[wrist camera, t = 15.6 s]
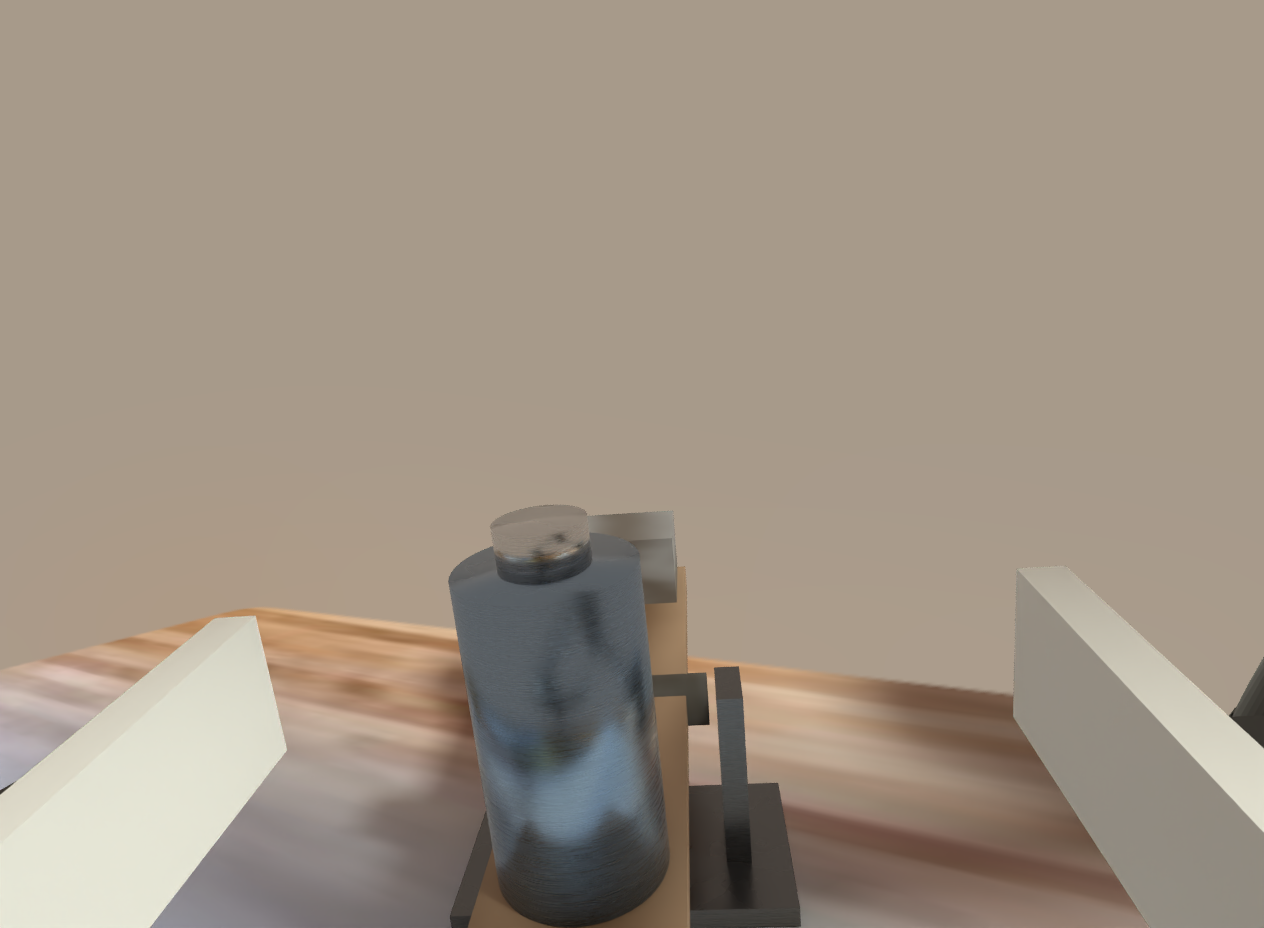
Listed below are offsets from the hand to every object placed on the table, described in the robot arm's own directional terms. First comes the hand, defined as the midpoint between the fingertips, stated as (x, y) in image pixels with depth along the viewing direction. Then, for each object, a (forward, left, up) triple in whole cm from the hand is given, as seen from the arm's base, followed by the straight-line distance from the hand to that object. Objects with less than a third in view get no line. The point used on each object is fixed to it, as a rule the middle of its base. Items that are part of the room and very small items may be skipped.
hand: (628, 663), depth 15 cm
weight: (+3, -12, -14) cm, 18 cm away
